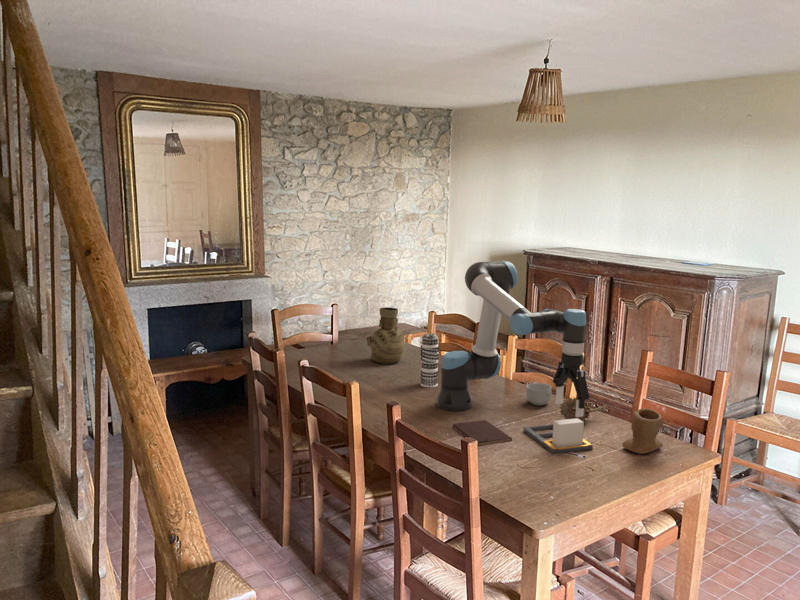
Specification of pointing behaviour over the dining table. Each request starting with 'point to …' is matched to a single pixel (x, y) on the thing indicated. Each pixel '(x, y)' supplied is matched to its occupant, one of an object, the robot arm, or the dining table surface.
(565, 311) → the robot arm
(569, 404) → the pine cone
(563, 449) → the frame
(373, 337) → the ceramic vessel
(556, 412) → the dining table surface
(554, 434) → the panel
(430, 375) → the decorative candle
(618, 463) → the dining table surface
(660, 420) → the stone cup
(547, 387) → the teacup
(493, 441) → the notebook
